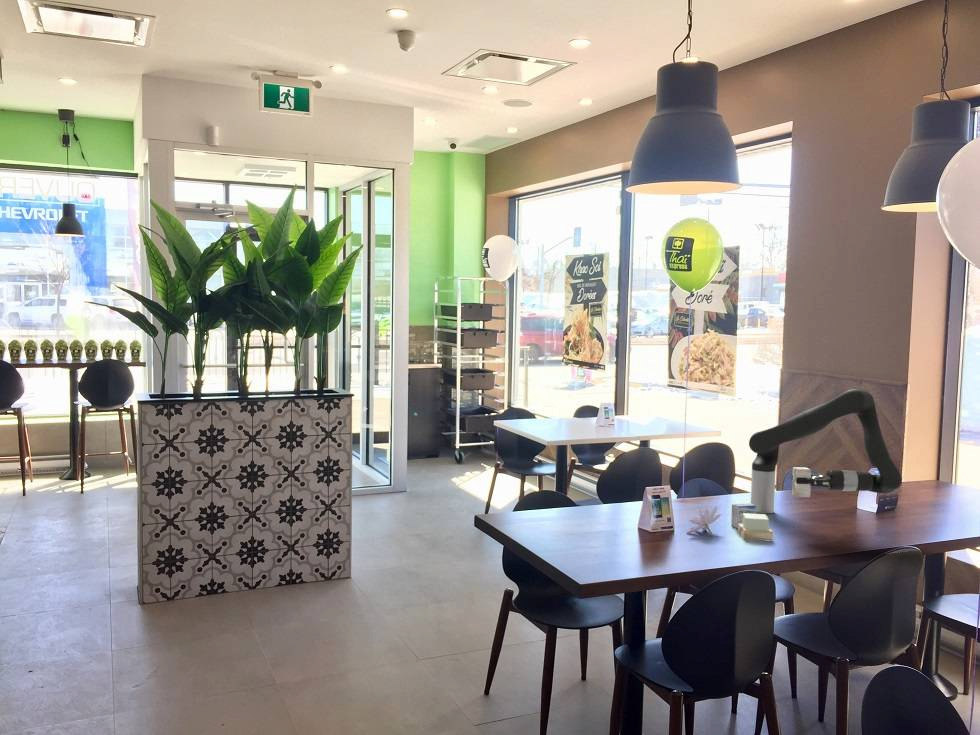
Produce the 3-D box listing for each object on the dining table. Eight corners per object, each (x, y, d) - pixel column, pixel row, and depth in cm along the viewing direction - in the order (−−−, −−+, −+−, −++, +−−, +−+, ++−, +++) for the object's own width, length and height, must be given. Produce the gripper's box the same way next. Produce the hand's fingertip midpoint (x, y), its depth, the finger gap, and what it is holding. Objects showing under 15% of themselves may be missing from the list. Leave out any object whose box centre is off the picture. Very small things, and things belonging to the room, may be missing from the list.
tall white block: (791, 493, 308) (792, 467, 307) (805, 494, 307) (806, 467, 307) (795, 496, 303) (797, 469, 302) (810, 497, 302) (811, 469, 302)
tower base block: (737, 534, 308) (738, 523, 307) (765, 535, 307) (765, 524, 307) (744, 541, 298) (744, 530, 297) (772, 542, 297) (773, 531, 297)
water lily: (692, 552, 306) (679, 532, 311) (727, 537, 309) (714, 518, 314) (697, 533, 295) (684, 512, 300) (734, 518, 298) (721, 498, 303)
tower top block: (742, 523, 307) (742, 513, 307) (765, 525, 306) (765, 514, 305) (745, 529, 299) (745, 518, 299) (768, 530, 298) (768, 519, 298)
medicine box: (737, 529, 314) (738, 506, 313) (730, 526, 318) (731, 503, 318) (755, 528, 316) (756, 505, 315) (749, 525, 320) (749, 502, 320)
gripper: (835, 466, 310) (788, 465, 312) (849, 473, 296) (800, 472, 297) (834, 486, 311) (788, 485, 312) (848, 494, 297) (799, 493, 298)
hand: (794, 479), depth 305 cm, fingers closed on tall white block, 5 cm apart
